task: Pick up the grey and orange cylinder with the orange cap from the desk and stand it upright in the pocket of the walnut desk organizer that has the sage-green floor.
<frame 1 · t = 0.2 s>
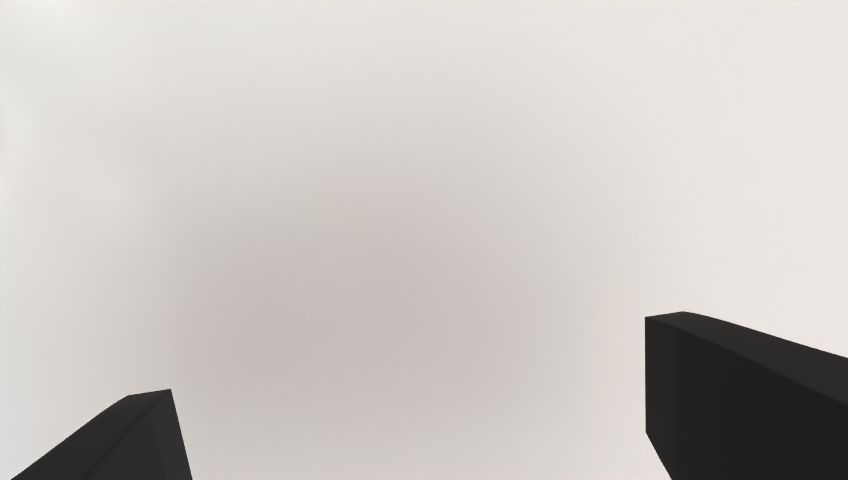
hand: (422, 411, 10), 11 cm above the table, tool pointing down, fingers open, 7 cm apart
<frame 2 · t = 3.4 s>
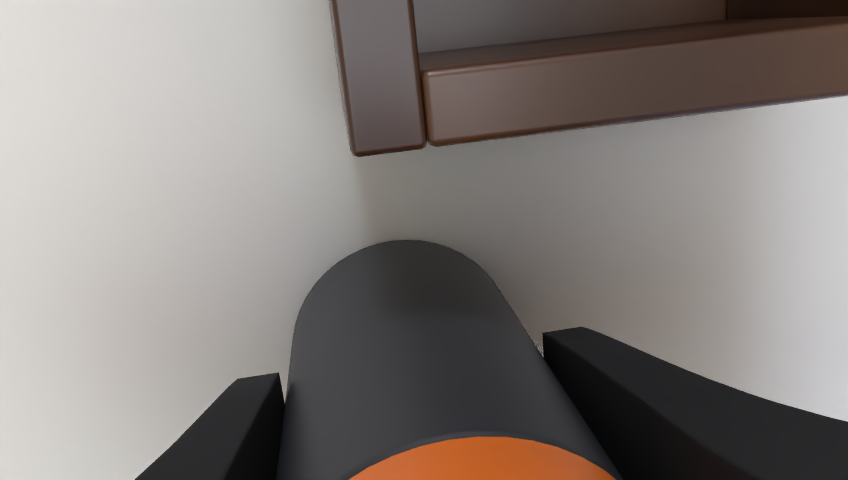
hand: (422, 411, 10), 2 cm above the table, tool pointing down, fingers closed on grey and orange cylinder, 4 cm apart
grey and orange cylinder: (403, 343, 13), on the table, touching gripper
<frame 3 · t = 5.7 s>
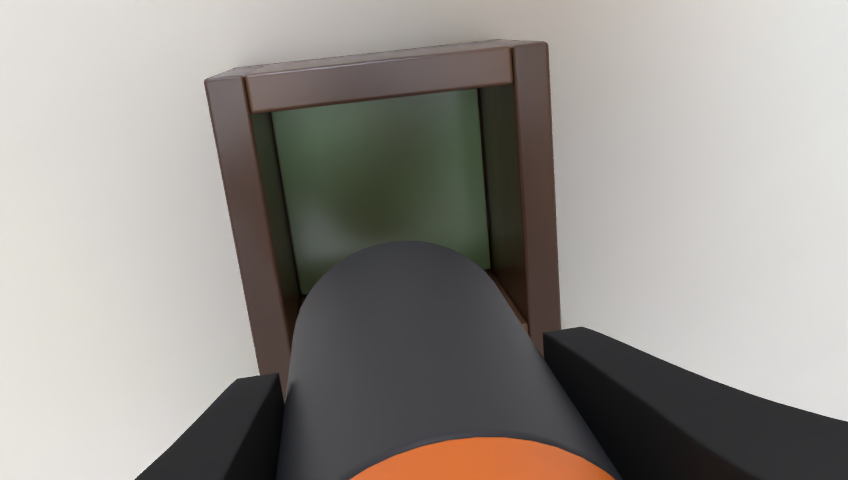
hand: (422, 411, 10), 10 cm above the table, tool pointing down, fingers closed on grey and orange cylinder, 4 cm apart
grey and orange cylinder: (403, 343, 13), point 7 cm above the table, touching gripper
organizer: (396, 288, 20), on the table
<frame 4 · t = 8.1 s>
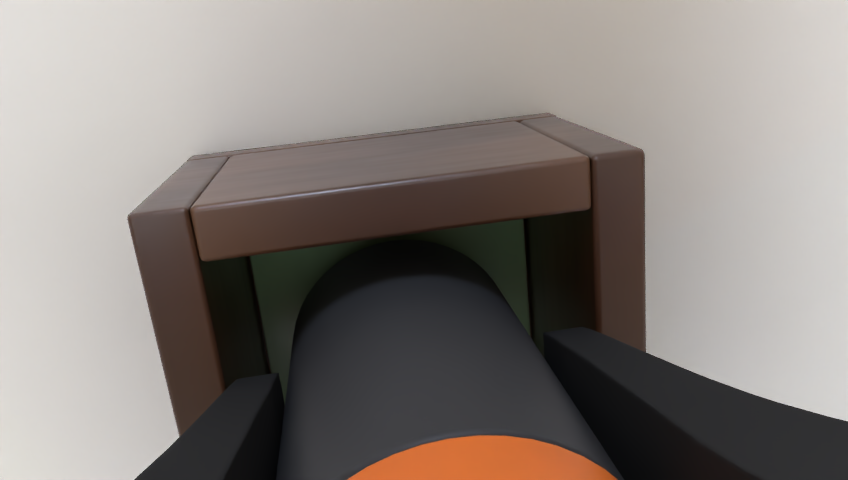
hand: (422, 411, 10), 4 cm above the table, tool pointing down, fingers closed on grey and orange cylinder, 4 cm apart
grey and orange cylinder: (403, 342, 13), point 2 cm above the table, touching gripper
organizer: (411, 429, 16), on the table
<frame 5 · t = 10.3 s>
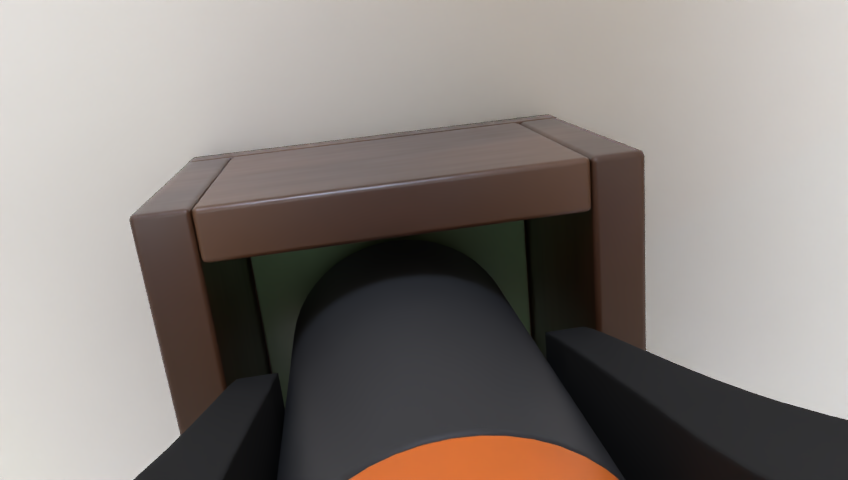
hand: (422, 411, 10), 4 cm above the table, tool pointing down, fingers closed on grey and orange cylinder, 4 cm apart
grey and orange cylinder: (404, 342, 13), point 2 cm above the table, touching gripper
organizer: (411, 430, 16), on the table
when the fingers open (5 cm above the table, at t = 12.3 s): grey and orange cylinder drops 2 cm, resting on organizer.
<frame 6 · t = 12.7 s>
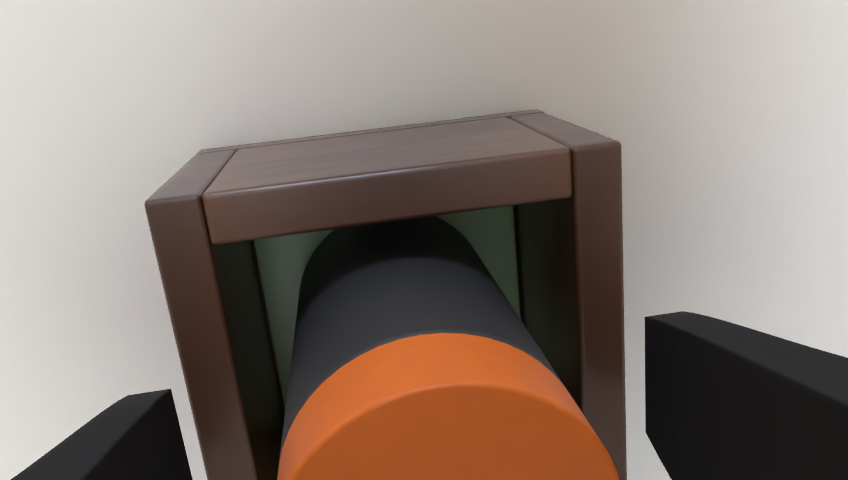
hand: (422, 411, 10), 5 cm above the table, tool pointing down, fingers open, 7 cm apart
grey and orange cylinder: (394, 297, 15), point 1 cm above the table, touching organizer
organizer: (407, 410, 16), on the table
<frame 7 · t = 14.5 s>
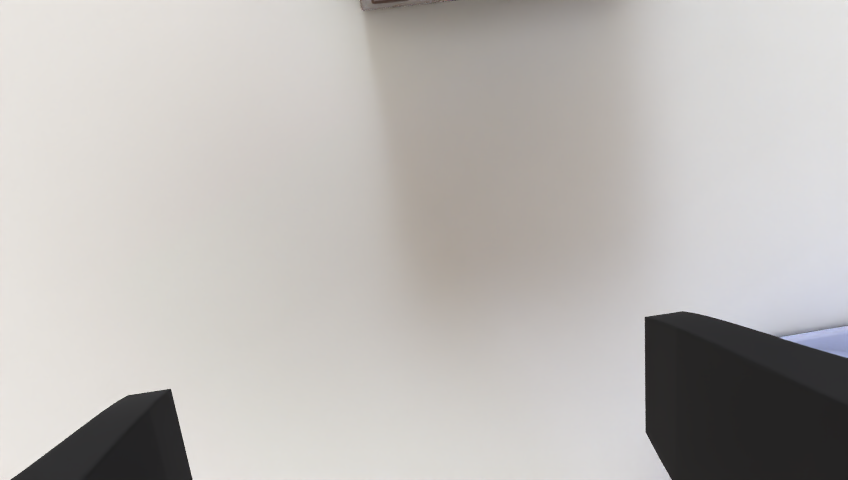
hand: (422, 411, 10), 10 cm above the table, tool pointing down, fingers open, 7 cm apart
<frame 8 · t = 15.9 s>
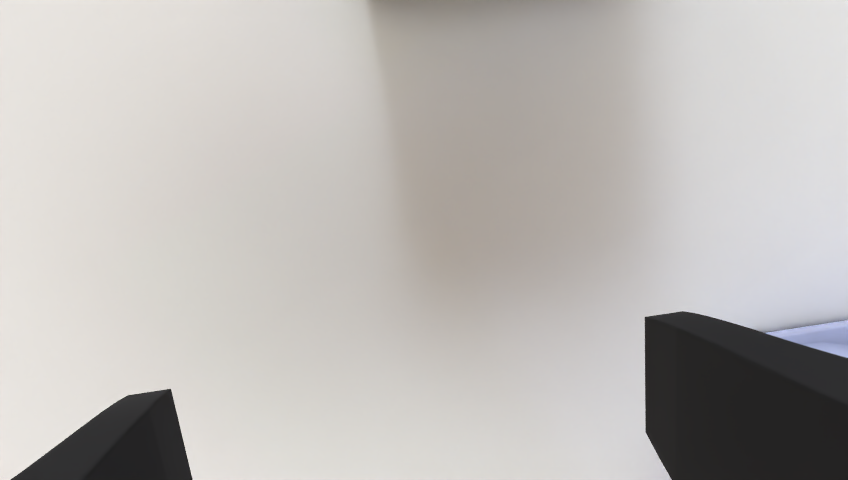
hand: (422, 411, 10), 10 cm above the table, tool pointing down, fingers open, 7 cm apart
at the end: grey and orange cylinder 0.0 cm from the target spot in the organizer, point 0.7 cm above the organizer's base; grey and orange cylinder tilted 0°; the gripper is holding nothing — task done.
